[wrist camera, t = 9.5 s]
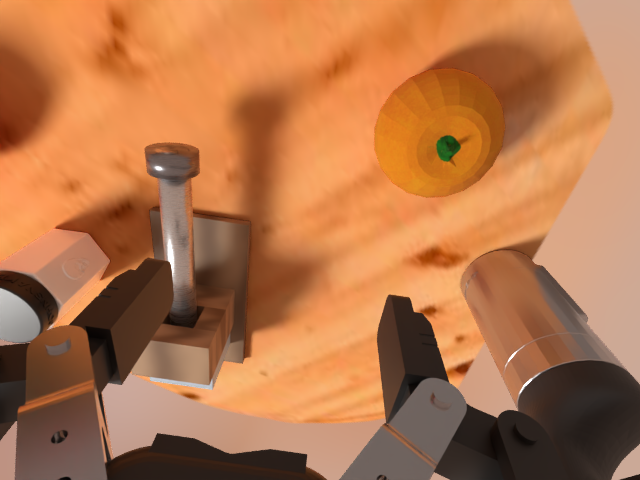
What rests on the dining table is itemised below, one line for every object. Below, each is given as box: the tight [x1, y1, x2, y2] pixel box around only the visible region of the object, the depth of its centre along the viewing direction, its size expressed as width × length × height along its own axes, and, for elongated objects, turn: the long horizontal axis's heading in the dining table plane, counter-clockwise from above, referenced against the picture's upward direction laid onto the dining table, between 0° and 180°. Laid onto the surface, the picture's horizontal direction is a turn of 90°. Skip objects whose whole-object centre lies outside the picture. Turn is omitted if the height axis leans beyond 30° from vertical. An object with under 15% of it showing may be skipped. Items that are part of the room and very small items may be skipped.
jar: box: [0, 228, 110, 343], centre depth 42 cm, size 9×8×12 cm
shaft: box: [145, 143, 200, 328], centre depth 38 cm, size 24×5×5 cm, turn 172°
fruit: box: [375, 68, 505, 198], centre depth 33 cm, size 12×12×10 cm
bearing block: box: [131, 207, 251, 385], centre depth 44 cm, size 12×24×12 cm, turn 172°
